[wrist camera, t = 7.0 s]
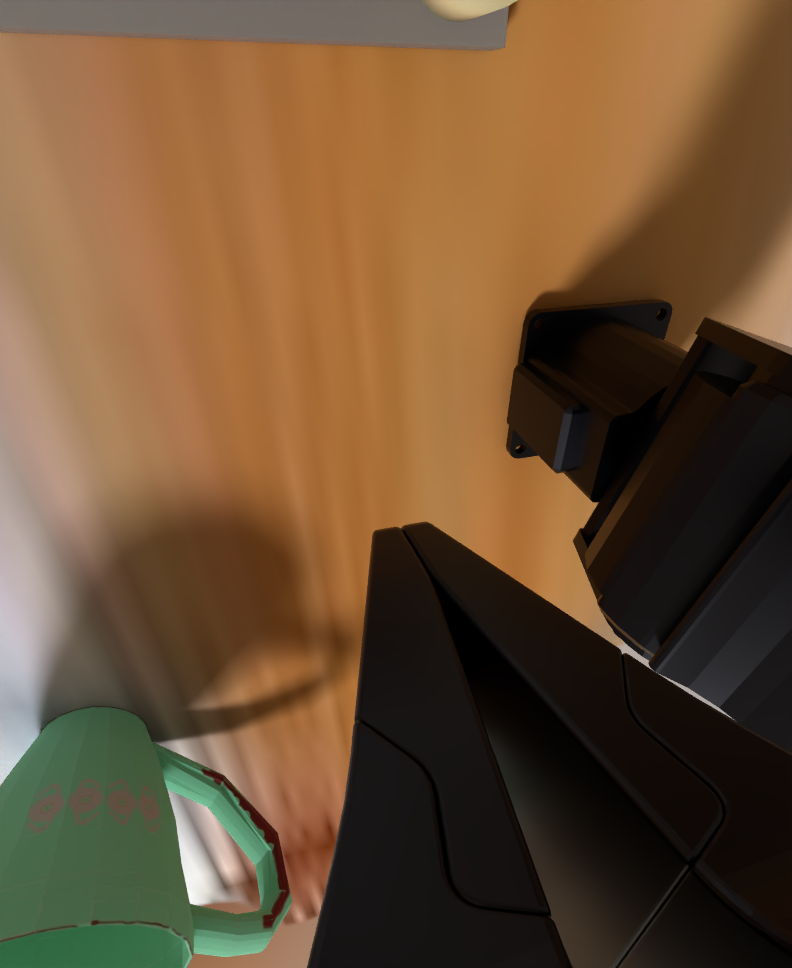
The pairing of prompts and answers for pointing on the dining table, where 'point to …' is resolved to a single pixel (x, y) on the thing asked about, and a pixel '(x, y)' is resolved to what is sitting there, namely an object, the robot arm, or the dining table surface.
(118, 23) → the stand
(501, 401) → the dining table surface
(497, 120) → the dining table surface
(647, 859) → the robot arm
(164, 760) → the mug
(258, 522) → the dining table surface
